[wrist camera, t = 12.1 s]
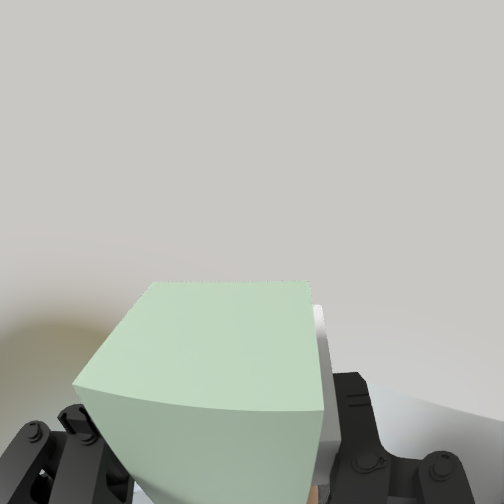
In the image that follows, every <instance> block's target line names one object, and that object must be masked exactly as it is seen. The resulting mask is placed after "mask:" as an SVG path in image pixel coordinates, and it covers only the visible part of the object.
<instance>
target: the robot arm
mask: <svg viewBox="0 0 504 504" xmlns="http://www.w3.org/2000/svg"><path fill="white" fill-rule="evenodd" d="M312 306H313V313H314V321H315V329H316V337H317V345H318V354H319V362H320V372H321V381H322V391H323V402H324V415H323V422H322V428H321V434H320V440H319V445H318V451H317V456H316V461H315V466H314V471H313V476H312V481H311V486H318V485H328V483H329V480H330V494H329V497H328V499H327V502H326V504H475V501H474V498H473V495H472V492H471V489H470V486H469V483H468V480H467V477H466V474H465V471H464V468H463V465H462V463H461V461H460V460H459V458H458V457H457V456H456V455H454V454H453V453H451V452H447V451H435V452H433V453H431V454H428V455H427V456H426V457H425V458H424V459H423V460H418V459H407V458H400V457H396V456H394V455H392V454H390V453H389V452H387V451H386V450H385V449H384V447H383V446H382V445H381V442H380V439H379V434H378V430H377V425H376V421H375V417H374V412H373V408H372V406H371V400H370V396H369V392H368V388H367V384H366V381H365V380H364V379H363V378H362V377H361V375H360V374H359V373H358V372H350V373H334V374H333V373H332V367H331V360H330V354H329V348H328V341H327V336H326V330H325V325H324V318H323V312H322V307H321V305H312ZM57 418H58V419H59V421H60V422H61V424H62V425H63V427H64V428H65V430H66V431H67V432H63V431H62V432H61V431H51V430H50V429H49V427H48V426H47V425H46V424H45V423H44V422H41V421H31V422H29V423H27V424H25V425H24V426H23V427H22V428H21V429H20V431H19V432H18V433H17V435H16V436H15V438H14V439H13V440H12V442H11V443H10V444H9V446H8V447H7V449H6V450H5V452H4V453H3V454H2V456H1V457H0V504H132V499H133V490H134V481H135V480H134V479H133V477H132V476H131V475H130V474H129V472H128V471H127V470H126V468H125V467H124V466H123V464H122V463H121V462H120V460H119V459H118V458H117V456H116V455H115V453H114V452H113V451H112V449H111V448H110V446H109V445H108V443H107V442H106V440H105V439H104V437H103V436H102V434H101V433H100V431H99V430H98V428H97V427H96V425H95V423H94V422H93V420H92V419H91V417H90V415H89V414H88V412H87V410H86V408H85V407H84V405H83V404H74V405H71V406H68V407H66V408H65V409H64V410H62V411H61V412H60V414H59V415H58V417H57ZM42 469H43V470H44V471H45V473H44V474H41V475H40V474H39V473H40V471H41V470H42Z"/></svg>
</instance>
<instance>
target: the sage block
mask: <svg viewBox="0 0 504 504" xmlns="http://www.w3.org/2000/svg"><path fill="white" fill-rule="evenodd" d="M72 385H73V387H74V389H75V391H76V392H77V394H78V396H79V398H80V400H81V401H82V403H83V405H84V407H85V408H86V410H87V412H88V414H89V415H90V417H91V419H92V420H93V422H94V423H95V425H96V427H97V428H98V430H99V431H100V433H101V434H102V436H103V437H104V439H105V440H106V442H107V443H108V445H109V446H110V448H111V449H112V451H113V452H114V453H115V455H116V456H117V458H118V459H119V460H120V462H121V463H122V464H123V466H124V467H125V468H126V470H127V471H128V472H129V474H130V475H131V476H132V477H133V479H134V480H135V481H136V482H137V484H138V485H139V486H140V487H141V489H142V490H143V491H144V492H145V493H146V495H147V496H148V497H149V498H150V499H151V500H152V501H153V502H154V504H306V503H307V499H308V495H309V490H310V486H311V481H312V476H313V471H314V466H315V461H316V456H317V451H318V445H319V440H320V434H321V428H322V422H323V415H324V402H323V391H322V381H321V372H320V362H319V354H318V345H317V337H316V329H315V321H314V313H313V306H312V299H311V291H310V284H309V281H278V282H277V281H275V282H153V283H152V284H151V286H150V287H149V288H148V289H147V290H146V292H145V293H144V294H143V295H142V296H141V297H140V299H139V300H138V301H137V302H136V303H135V305H134V306H133V307H132V308H131V310H130V311H129V312H128V313H127V314H126V316H125V317H124V318H123V319H122V320H121V322H120V323H119V324H118V325H117V327H116V328H115V330H114V331H113V332H112V333H111V334H110V336H109V337H108V338H107V339H106V340H105V342H104V343H103V344H102V346H101V347H100V348H99V350H98V351H97V352H96V353H95V355H94V356H93V357H92V358H91V360H90V361H89V362H88V364H87V365H86V366H85V368H84V369H83V370H82V371H81V373H80V374H79V375H78V377H77V378H76V379H75V381H74V382H73V383H72Z"/></svg>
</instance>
